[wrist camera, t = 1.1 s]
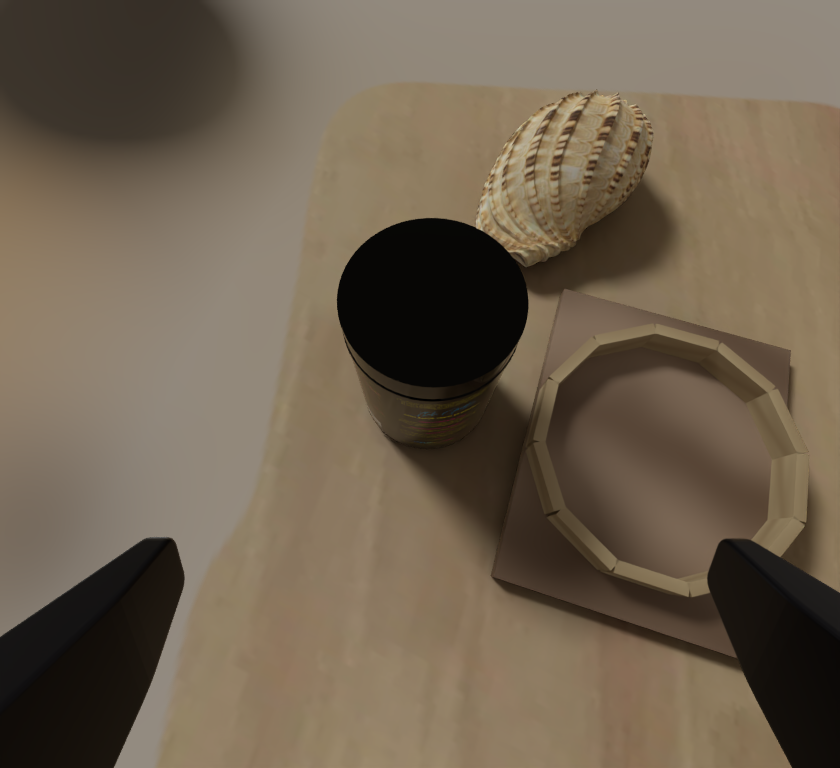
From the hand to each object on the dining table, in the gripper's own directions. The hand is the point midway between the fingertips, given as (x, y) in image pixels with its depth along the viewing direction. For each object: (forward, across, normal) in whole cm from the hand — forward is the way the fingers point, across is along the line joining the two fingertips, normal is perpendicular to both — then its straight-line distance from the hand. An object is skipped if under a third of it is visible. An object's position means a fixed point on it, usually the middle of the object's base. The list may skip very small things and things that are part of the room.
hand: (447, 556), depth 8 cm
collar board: (+12, -10, +6) cm, 17 cm away
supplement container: (+15, 0, +4) cm, 16 cm away
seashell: (+23, -7, -3) cm, 24 cm away
